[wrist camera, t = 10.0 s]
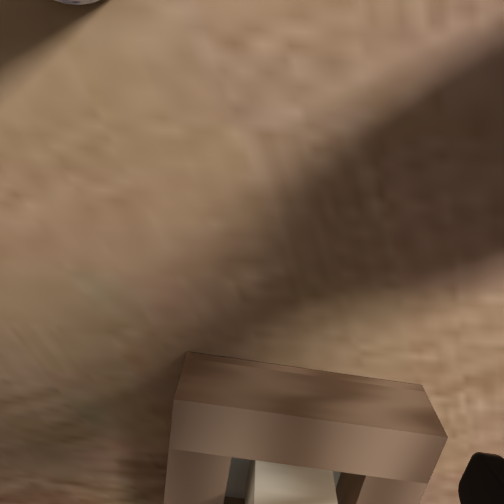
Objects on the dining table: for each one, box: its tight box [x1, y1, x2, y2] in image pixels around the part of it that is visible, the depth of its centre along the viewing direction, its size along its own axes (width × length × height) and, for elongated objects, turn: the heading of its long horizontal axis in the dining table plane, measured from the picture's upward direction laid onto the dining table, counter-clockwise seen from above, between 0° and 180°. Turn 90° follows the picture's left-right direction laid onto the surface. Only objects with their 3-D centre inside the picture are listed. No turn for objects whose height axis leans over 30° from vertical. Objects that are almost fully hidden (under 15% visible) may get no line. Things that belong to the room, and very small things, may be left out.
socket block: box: [163, 352, 448, 504], centre depth 23 cm, size 12×12×4 cm
